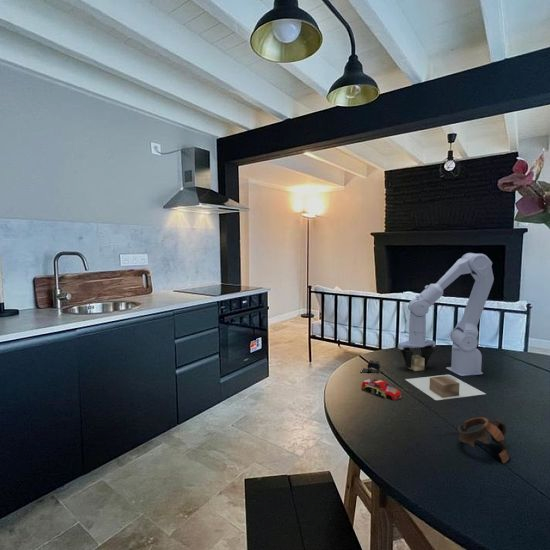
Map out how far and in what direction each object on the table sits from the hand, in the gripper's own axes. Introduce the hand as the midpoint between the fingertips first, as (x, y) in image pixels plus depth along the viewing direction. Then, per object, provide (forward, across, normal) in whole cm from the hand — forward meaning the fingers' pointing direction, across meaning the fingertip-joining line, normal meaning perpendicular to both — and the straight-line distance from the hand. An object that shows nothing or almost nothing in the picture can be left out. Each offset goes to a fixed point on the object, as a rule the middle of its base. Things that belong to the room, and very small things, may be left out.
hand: (416, 366), depth 126 cm
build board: (+1, +1, +16) cm, 16 cm away
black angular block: (+2, +17, -1) cm, 17 cm away
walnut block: (+1, +4, +20) cm, 20 cm away
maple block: (+2, 0, 0) cm, 2 cm away
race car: (+2, +23, +15) cm, 28 cm away
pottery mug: (+2, +14, +47) cm, 49 cm away
